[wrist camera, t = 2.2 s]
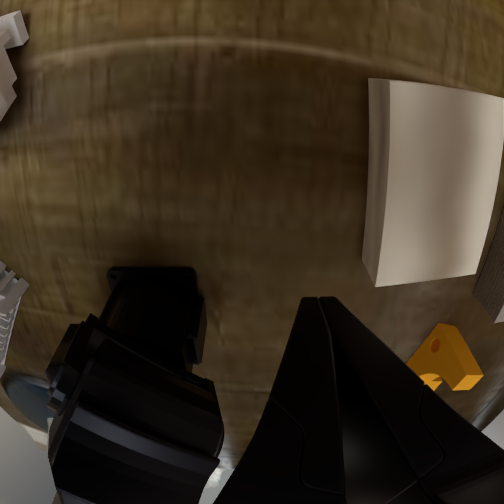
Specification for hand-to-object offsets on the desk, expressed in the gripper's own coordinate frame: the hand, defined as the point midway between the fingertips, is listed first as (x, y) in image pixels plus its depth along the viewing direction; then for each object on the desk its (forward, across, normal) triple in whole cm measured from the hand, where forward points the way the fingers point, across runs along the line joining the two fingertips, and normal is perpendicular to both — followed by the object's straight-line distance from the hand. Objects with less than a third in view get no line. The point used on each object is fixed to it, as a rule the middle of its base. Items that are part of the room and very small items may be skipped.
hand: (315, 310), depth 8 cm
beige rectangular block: (+12, -10, 0) cm, 16 cm away
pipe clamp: (+12, -16, +20) cm, 28 cm away
